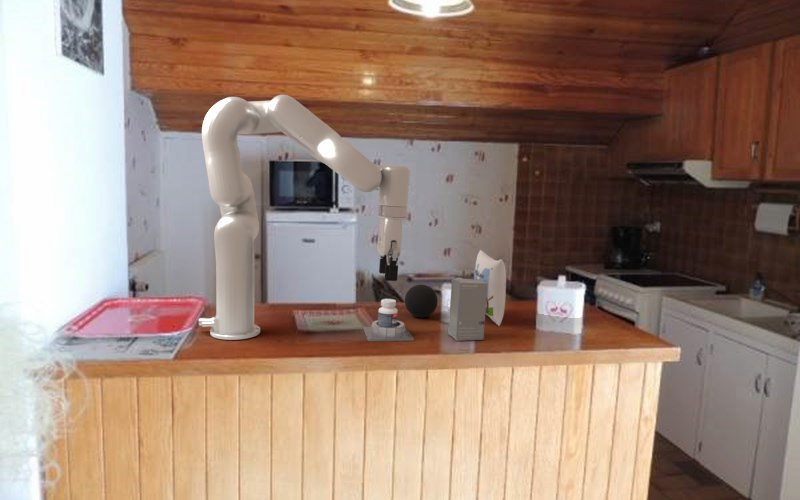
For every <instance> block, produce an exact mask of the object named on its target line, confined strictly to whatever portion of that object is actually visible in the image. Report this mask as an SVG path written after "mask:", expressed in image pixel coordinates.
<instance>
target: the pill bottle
mask: <svg viewBox="0 0 800 500" xmlns="http://www.w3.org/2000/svg"><path fill="white" fill-rule="evenodd" d="M380 306H381V307H379V308H378V311H377V312H378V313H377V314H378V316H377V320H378V325H379V326H383V327H396V326H397V321H398V316H399V315H398V314H399V313H398V312H399V311H398V308H396V306H397V300H396V299H394V298H382V299H381V300H380Z"/></svg>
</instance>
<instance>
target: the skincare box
mask: <svg viewBox="0 0 800 500" xmlns="http://www.w3.org/2000/svg"><path fill="white" fill-rule="evenodd" d="M487 284H488V283H486V282H484V281H481V280H479V279H474V278H452V279H451V286H450V287H451V288H450V302H449V303H450V304H449V305H450V306H449V316H448V317H449V318H448V329H447V331H448V332H447V333H448V335H449V336H450V337H452V338H453V339H454V340H455V341H456V342H460V341H461V342H463V341H480V340H482V341H484V339H485V337H484V336H485V325H486V314H485V312H486V299H487Z"/></svg>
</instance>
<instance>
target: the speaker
mask: <svg viewBox="0 0 800 500" xmlns="http://www.w3.org/2000/svg"><path fill="white" fill-rule="evenodd" d="M438 302H439V299H438V296H437V293H436V291H435V290H434V289H433V288H432V287H431V286H429V285H426V284H416V285H413V286H412V287H410V288H409V289H408V291H407V292H406V294H405V297H404V306H405V308H406V311H408V313H409V314H410V315H411V316H412V317H416V318H427V317H430V316H431V315H432V314H434V313H435V310H436V309H437V307H438Z"/></svg>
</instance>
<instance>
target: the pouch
mask: <svg viewBox="0 0 800 500" xmlns="http://www.w3.org/2000/svg"><path fill="white" fill-rule="evenodd" d="M473 274H474V276H473V279H479V280H481V281H484V282H486V283H488V284H487V299H486V312H485V316H488V317H489V318H490V319H491V320H492V321H493V322H494V323H495V324H496V325H498V327H500V326H501V324H502V321H503V318H504V315H505V307H506V298H507V295H506V294H507V293H506V292H507V290H506V289H507V271H506V264H505V262H504V260H503V259H501V258H500V259H499V260H496V259H494V258H493V257H491V256H489V255H488V254H487V253H485V251H483V250H482V249H479V252H478V253H477V256H476V261H475V266H474V273H473Z"/></svg>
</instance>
